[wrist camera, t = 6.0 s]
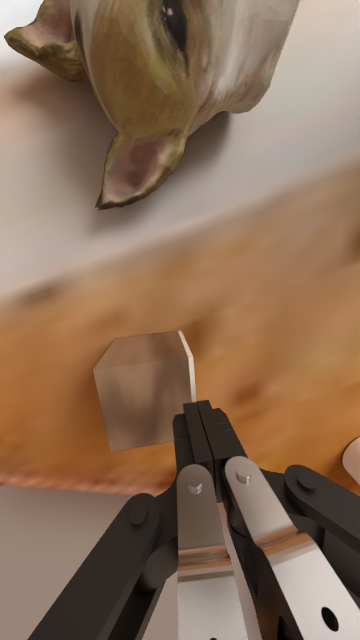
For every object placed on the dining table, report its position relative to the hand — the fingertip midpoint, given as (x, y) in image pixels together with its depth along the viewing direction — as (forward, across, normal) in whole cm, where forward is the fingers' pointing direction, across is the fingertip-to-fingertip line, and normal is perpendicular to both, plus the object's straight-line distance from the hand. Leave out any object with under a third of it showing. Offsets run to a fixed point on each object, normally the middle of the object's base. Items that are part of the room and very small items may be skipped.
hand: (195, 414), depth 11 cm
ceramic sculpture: (+8, 0, -20) cm, 21 cm away
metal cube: (+4, 0, 0) cm, 4 cm away
